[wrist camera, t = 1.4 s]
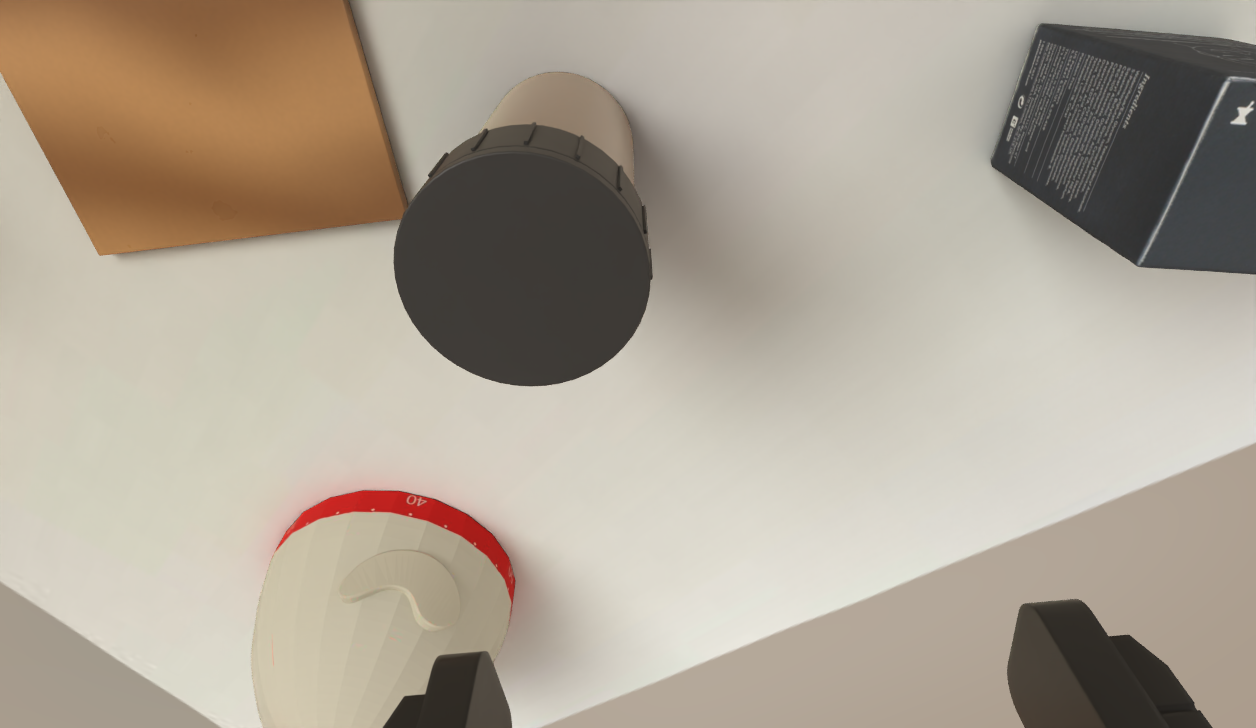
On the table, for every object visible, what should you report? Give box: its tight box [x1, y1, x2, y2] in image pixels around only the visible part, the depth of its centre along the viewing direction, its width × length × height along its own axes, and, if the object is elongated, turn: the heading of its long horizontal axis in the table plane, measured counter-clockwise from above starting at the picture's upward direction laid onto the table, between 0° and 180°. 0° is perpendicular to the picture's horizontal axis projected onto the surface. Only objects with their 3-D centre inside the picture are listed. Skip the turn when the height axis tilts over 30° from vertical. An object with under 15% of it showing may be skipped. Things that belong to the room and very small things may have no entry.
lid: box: [394, 122, 653, 386], centre depth 20 cm, size 7×7×3 cm
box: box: [991, 24, 1256, 274], centre depth 25 cm, size 8×6×11 cm
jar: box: [478, 72, 634, 186], centre depth 25 cm, size 6×6×12 cm
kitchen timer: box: [251, 491, 515, 728], centre depth 37 cm, size 14×14×15 cm
